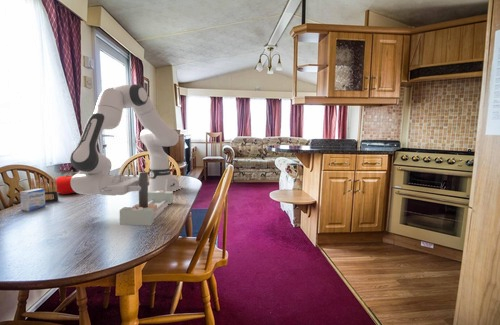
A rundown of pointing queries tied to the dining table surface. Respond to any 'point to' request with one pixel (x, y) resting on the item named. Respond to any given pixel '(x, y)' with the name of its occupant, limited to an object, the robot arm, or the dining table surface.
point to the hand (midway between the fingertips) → (145, 186)
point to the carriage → (144, 192)
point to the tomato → (64, 185)
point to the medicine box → (32, 199)
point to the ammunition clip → (49, 192)
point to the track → (146, 209)
